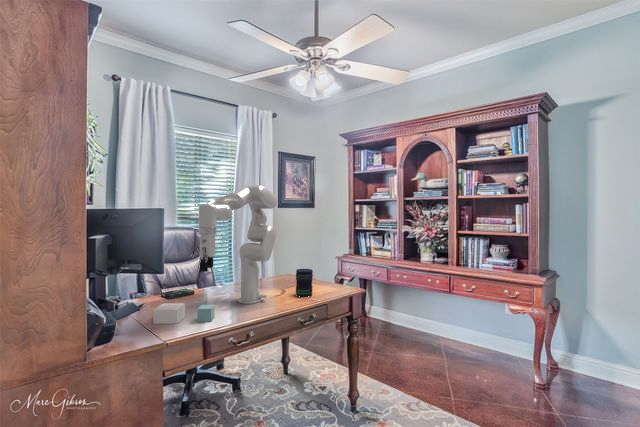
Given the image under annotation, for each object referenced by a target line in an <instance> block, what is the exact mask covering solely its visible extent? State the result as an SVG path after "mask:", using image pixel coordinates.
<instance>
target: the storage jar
mask: <svg viewBox="0 0 640 427" xmlns="http://www.w3.org/2000/svg"><path fill="white" fill-rule="evenodd" d="M295 272H296V274H295V279H296V286H295V296H296V295H297V296H300V297H299V298H301V297H308V296H311V297H313V278H314V277H313V276H314V275H313V269H311V268H297V269H296V270H295ZM297 296H296V297H297ZM308 298H309V297H308Z"/></svg>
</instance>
